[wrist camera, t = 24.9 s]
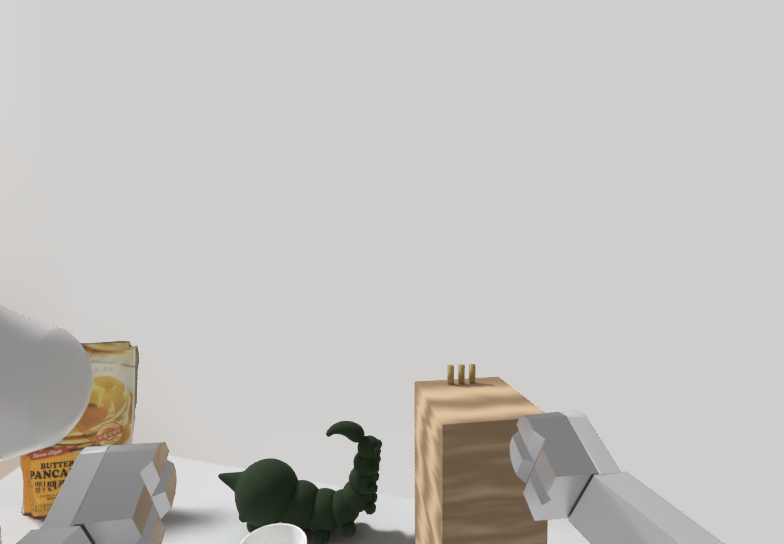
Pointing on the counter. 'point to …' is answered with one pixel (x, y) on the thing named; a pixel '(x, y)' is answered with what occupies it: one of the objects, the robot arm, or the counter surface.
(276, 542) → the white cup
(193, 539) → the counter surface
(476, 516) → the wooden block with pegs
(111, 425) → the pancake mix bag
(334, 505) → the toy figurine
